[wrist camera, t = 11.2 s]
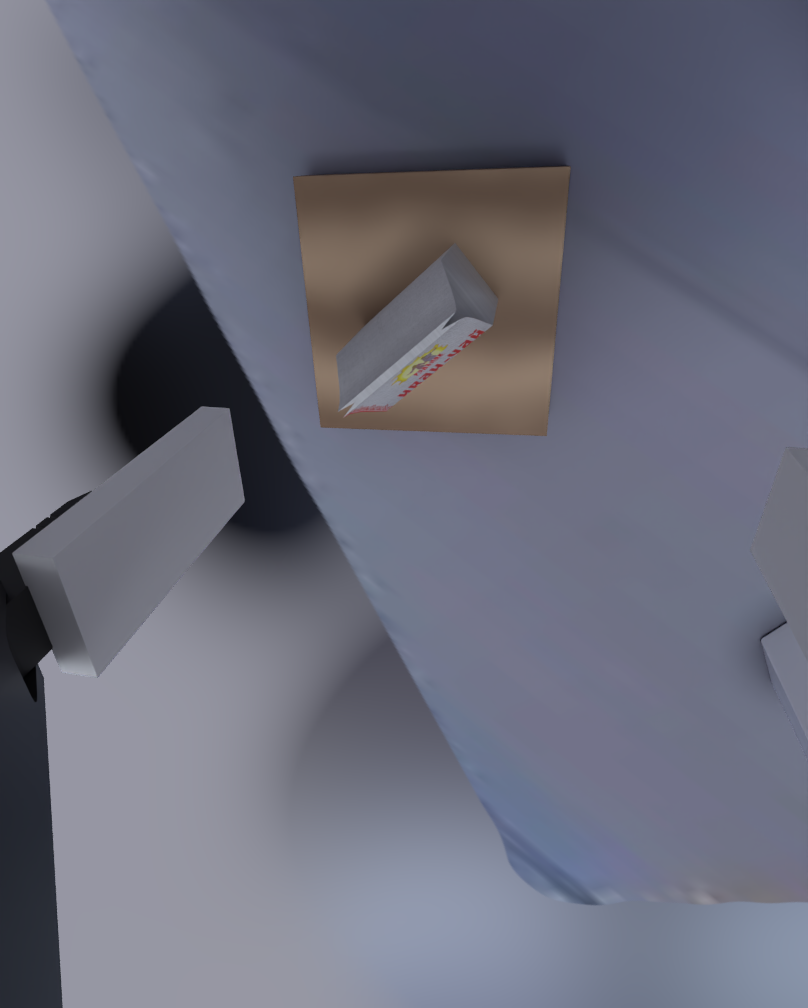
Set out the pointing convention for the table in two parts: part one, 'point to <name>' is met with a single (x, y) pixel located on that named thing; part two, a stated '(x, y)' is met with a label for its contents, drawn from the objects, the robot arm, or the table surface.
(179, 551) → the robot arm
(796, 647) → the jar
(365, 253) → the pedestal
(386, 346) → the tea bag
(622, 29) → the table surface
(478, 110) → the table surface
